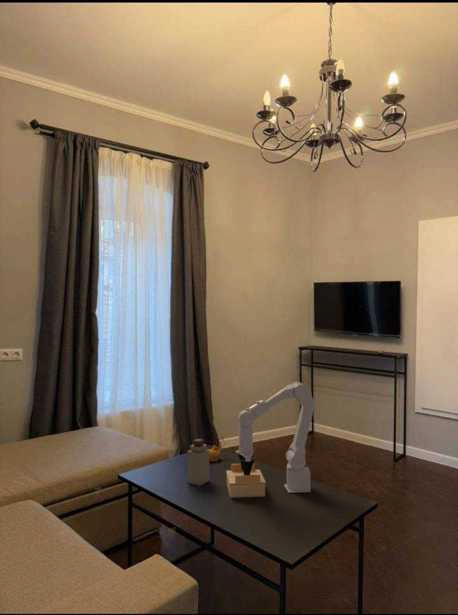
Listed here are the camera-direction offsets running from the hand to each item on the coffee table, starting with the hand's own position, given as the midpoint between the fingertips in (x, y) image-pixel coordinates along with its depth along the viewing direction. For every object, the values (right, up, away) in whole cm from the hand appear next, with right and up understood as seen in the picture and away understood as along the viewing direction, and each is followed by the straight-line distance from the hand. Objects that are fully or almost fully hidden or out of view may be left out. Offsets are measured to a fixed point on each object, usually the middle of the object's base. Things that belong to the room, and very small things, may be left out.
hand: (245, 473), depth 180 cm
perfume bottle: (-20, -7, +10) cm, 24 cm away
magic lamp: (-16, -8, +38) cm, 42 cm away
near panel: (0, -2, -3) cm, 3 cm away
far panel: (0, -2, +5) cm, 5 cm away
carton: (0, -7, +1) cm, 7 cm away
